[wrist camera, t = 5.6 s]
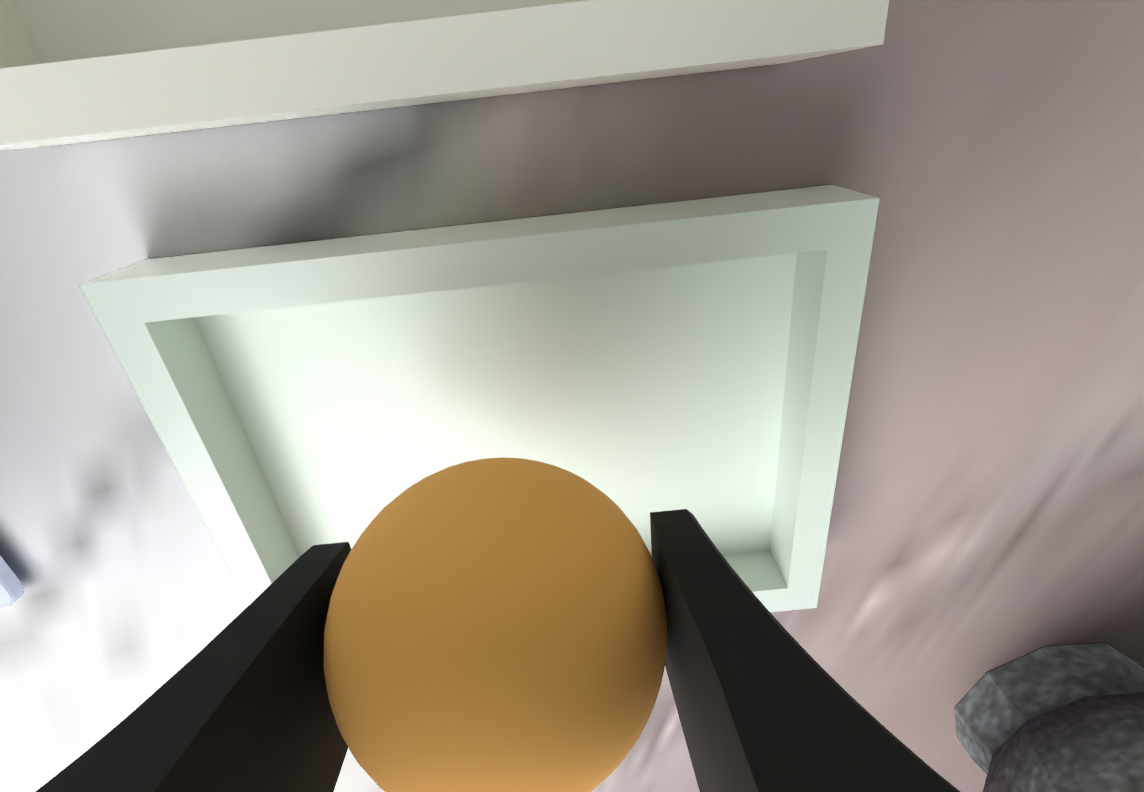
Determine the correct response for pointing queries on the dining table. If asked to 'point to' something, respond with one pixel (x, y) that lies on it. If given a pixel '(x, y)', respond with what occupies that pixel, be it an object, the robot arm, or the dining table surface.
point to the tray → (514, 370)
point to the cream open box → (368, 54)
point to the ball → (495, 634)
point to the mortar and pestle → (1058, 722)
